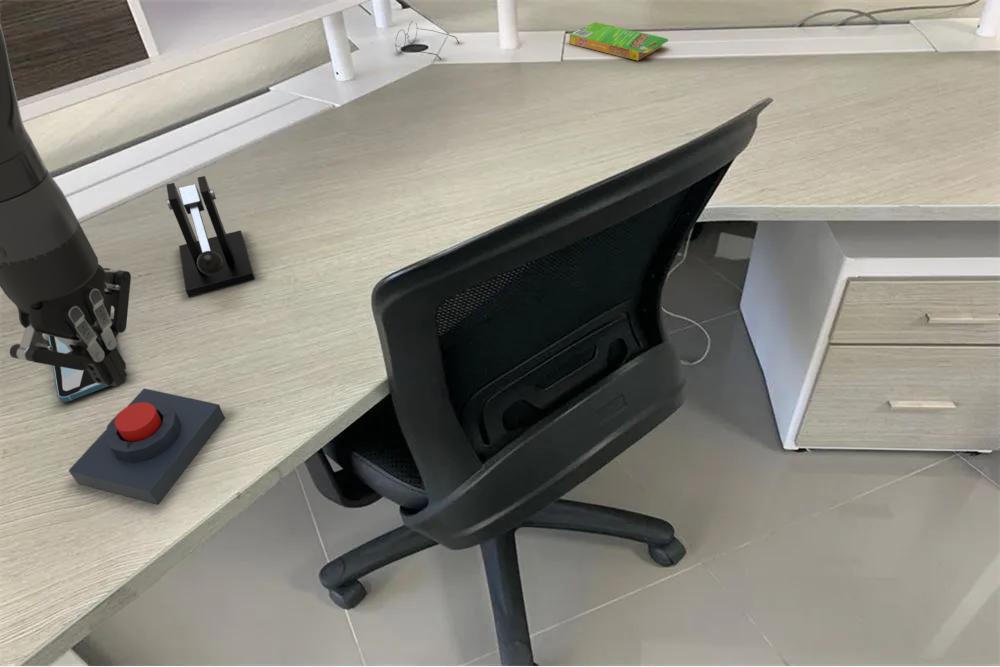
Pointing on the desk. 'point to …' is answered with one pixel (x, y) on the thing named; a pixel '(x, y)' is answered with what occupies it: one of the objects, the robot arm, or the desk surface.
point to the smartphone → (71, 377)
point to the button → (138, 422)
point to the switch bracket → (224, 244)
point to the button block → (149, 449)
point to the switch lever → (200, 231)
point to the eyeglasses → (415, 38)
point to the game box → (616, 40)
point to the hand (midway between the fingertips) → (114, 380)
